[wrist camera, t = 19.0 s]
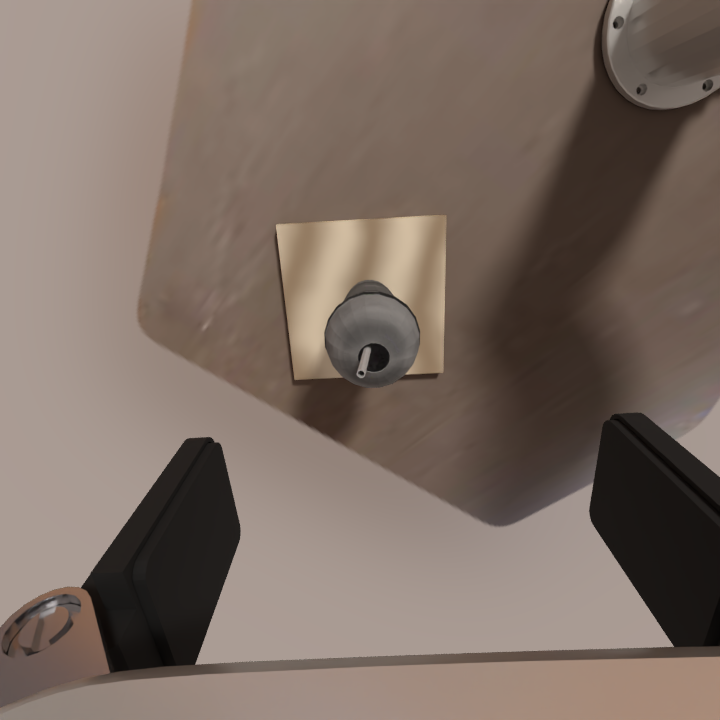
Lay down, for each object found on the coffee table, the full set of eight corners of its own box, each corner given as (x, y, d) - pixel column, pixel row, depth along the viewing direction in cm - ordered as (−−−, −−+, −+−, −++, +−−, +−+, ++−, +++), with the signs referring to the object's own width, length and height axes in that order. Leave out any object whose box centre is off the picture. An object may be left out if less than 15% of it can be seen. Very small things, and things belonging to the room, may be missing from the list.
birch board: (444, 214, 41) (446, 215, 40) (441, 368, 47) (443, 372, 46) (278, 223, 41) (275, 224, 40) (296, 375, 47) (294, 379, 46)
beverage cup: (369, 350, 45) (376, 463, 26) (318, 303, 43) (285, 389, 24) (420, 301, 43) (466, 386, 24) (368, 249, 41) (375, 298, 22)
